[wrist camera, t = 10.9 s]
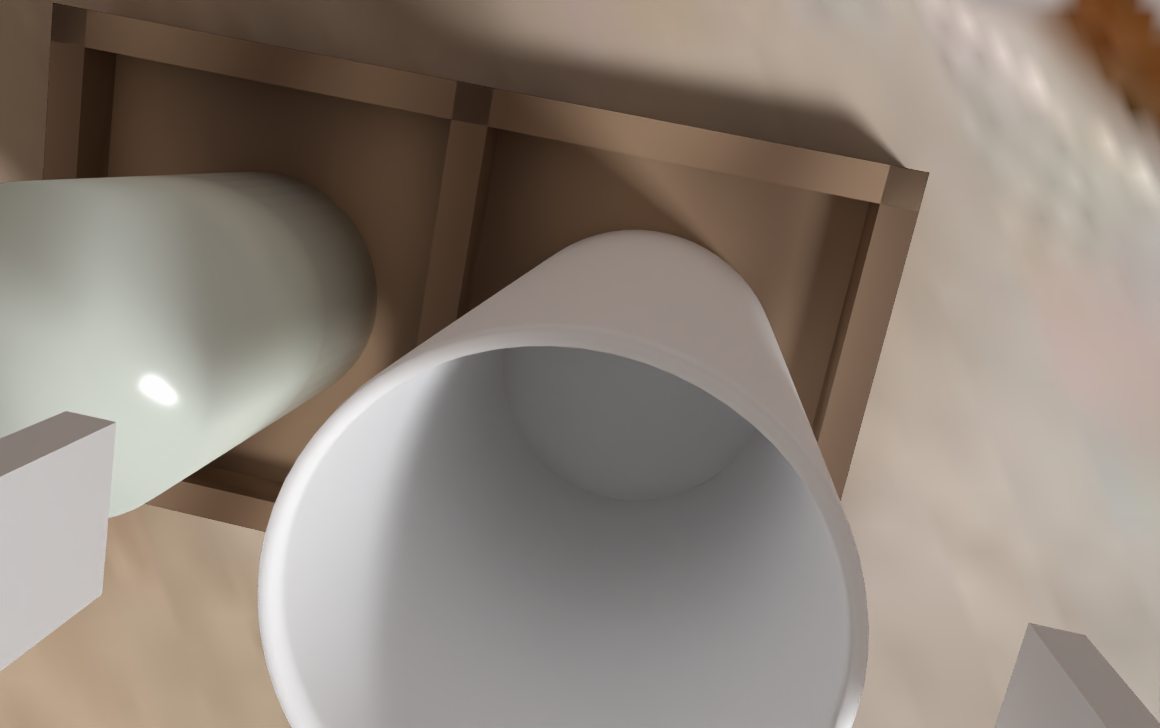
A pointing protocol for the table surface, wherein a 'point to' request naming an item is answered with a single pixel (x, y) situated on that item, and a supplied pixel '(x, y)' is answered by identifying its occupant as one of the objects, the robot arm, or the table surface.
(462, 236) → the caddy
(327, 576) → the cup
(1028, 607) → the table surface
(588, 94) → the table surface
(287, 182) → the pale green rounded cylinder
